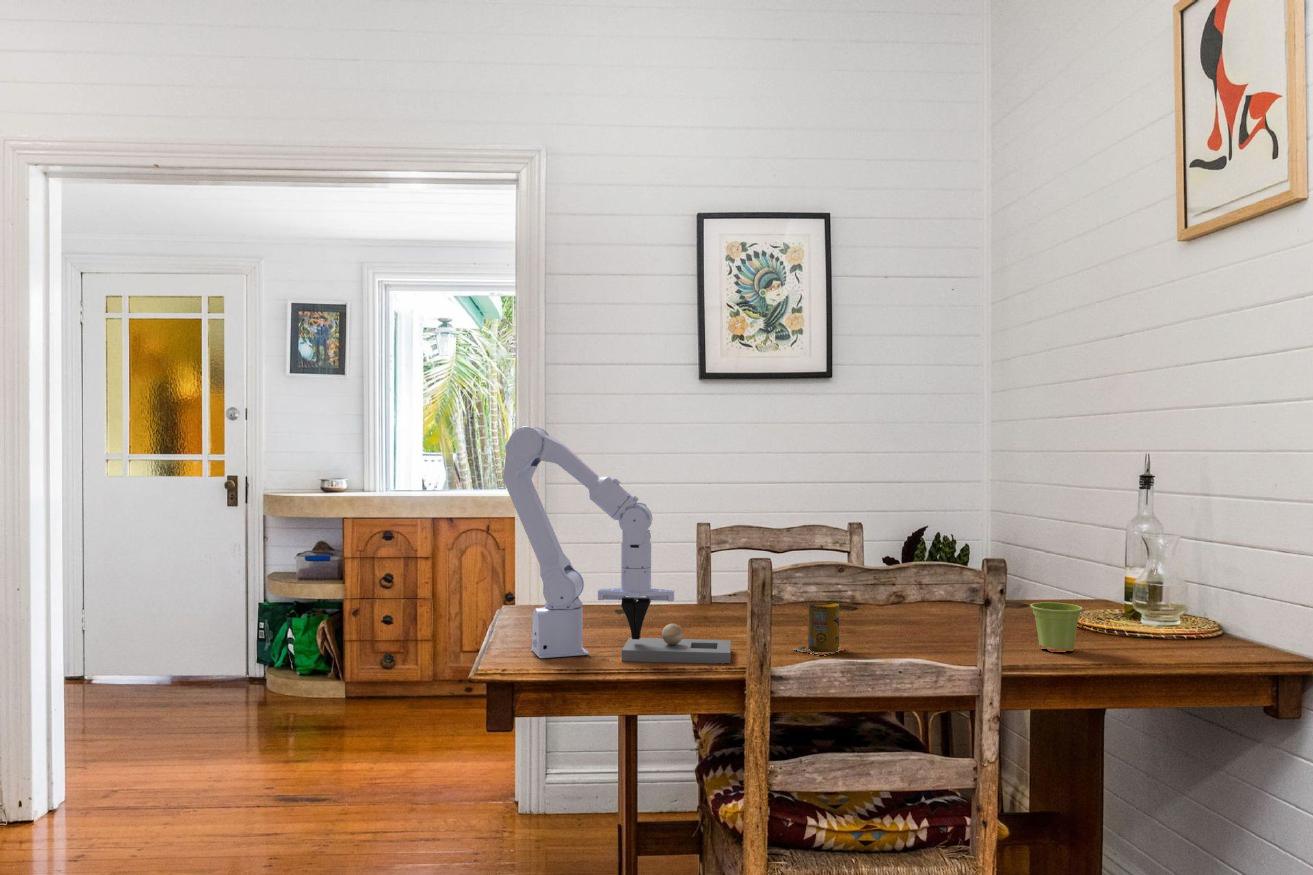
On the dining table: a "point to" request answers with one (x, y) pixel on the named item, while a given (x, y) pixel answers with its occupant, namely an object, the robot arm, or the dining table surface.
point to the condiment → (822, 628)
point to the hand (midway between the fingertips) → (636, 638)
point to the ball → (672, 634)
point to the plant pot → (1056, 624)
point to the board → (677, 651)
